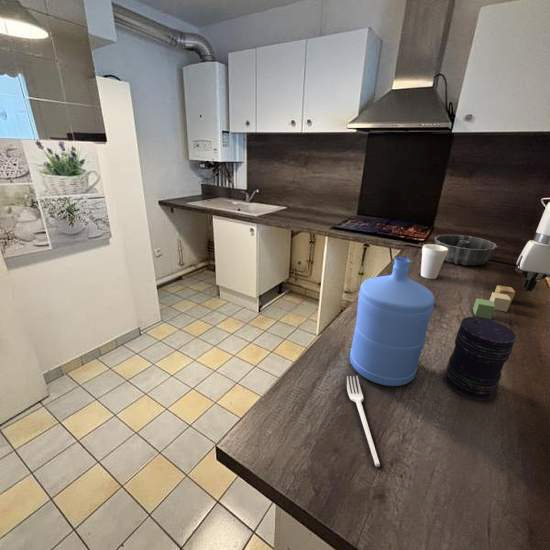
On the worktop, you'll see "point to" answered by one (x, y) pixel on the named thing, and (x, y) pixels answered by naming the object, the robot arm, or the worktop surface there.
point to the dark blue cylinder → (479, 357)
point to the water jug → (391, 326)
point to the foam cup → (432, 260)
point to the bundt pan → (466, 249)
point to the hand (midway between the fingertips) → (526, 289)
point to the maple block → (505, 291)
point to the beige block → (500, 301)
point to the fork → (362, 415)
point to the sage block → (483, 308)
